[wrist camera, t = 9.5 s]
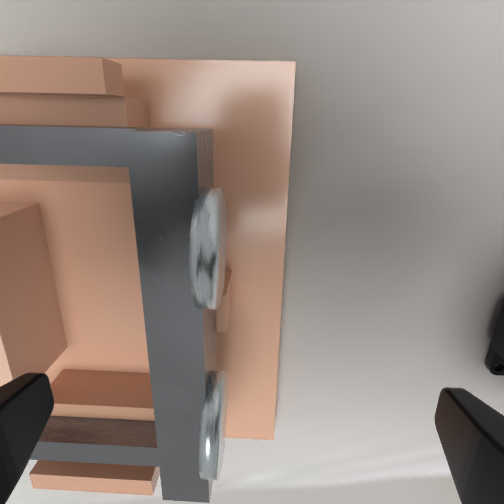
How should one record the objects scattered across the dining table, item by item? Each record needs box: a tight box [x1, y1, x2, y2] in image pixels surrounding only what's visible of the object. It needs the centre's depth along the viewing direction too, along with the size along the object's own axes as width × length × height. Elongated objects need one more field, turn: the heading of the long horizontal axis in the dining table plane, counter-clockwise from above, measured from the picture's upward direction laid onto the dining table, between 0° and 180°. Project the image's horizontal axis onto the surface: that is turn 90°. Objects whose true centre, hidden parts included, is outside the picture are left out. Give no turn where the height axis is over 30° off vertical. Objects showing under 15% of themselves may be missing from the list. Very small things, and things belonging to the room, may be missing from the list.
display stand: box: [0, 56, 296, 495], centre depth 17 cm, size 16×20×6 cm
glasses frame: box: [0, 124, 228, 503], centre depth 13 cm, size 10×15×4 cm
